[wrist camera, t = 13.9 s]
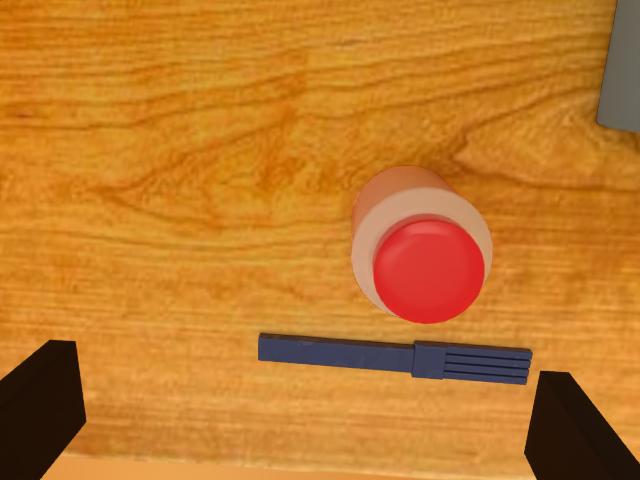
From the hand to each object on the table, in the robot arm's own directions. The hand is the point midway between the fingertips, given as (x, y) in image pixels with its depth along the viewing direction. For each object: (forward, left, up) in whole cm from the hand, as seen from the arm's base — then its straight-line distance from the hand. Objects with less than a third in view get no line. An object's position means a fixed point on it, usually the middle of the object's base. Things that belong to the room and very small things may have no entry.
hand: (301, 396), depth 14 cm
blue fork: (+10, -7, -22) cm, 25 cm away
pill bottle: (+5, +2, -22) cm, 23 cm away
